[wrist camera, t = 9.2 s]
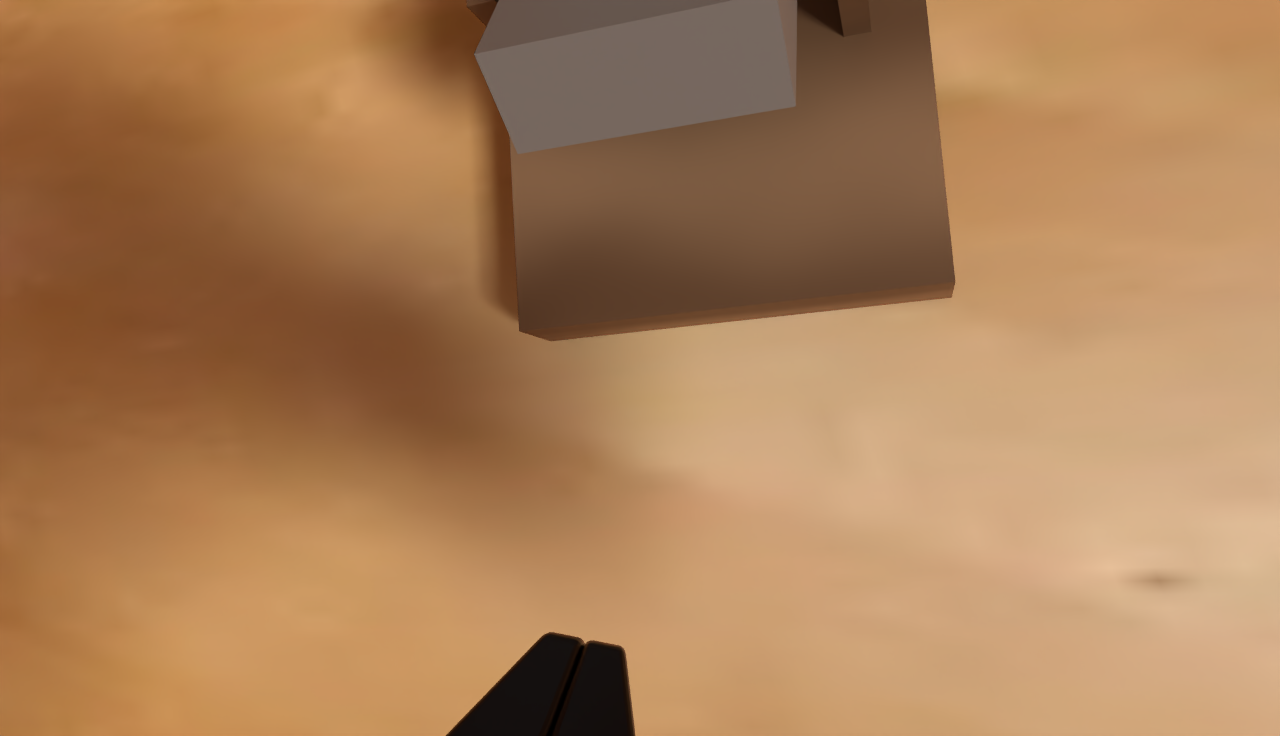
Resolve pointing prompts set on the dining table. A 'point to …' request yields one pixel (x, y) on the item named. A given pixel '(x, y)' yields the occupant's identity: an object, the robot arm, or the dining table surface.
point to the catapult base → (749, 196)
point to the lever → (634, 65)
